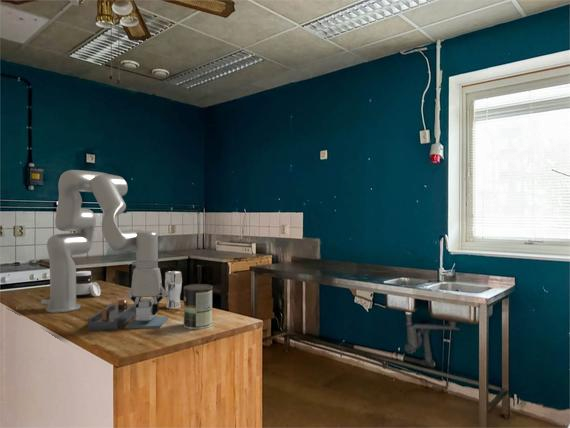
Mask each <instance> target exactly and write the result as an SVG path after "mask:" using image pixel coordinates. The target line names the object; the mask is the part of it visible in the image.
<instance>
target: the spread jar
mask: <svg viewBox="0 0 570 428" xmlns="http://www.w3.org/2000/svg"><path fill="white" fill-rule="evenodd" d="M101 294H102V293H101V287H100V285H99V283H98V282H96V281H95V282H93V277H92V271H91V270H82V271H81V270H80V271H79V270H78V271H76V299H77V298H78V299H81V298H89V297H91V296H93V297H95V298H97V297H100V296H101Z"/></svg>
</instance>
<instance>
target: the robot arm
mask: <svg viewBox="0 0 570 428" xmlns="http://www.w3.org/2000/svg"><path fill="white" fill-rule="evenodd" d="M57 187H58V201H57V207H56V211H55V212H56V213H55V219H54V220H55V221H54V225H55V228H56V229H57V230H59V231H62V232H64V233H57V234H54V235H51V236H50V237H49V238H48V239H47V241H46V249H47V254H48V258H49V291H50V293H49V299H41V302H40V305H41V306H47V307H46V308H45V311H46V312H47V313H50V314H51V313H52V314H53V313H54V314H55V313H56V314H57V313H59V314H60V313H68V312H72V311H76V310H79V309H81V304H80V303H77V298H76V272H77V266H76V263H75V261H74V260H73V258H72V257H73V256H79V255H80V256H81V255H85V254H88V253H89V251H90V250H91V249H92V246H93V242H94V236H95V230H96V223H97V220H96V218H97V217H96V215H95V213H94V211H92V210H91V209H89V208H82V205H83V204H82V203H83V199H82V196H81V193H80V192H85V193H92V194H93V196H94V197H95V199H96V202H97V204H98V205H99V207H100V209H101V211H102V213H103V216H102V218H101V233H102V236H103V237H104V239H105V241H106V242H107V244H108V246H109V248H111V249H112V250H113V251H115V252H128V251H136V252H135V253H136V254H135V255H136V257H135V259H136V260H135V261H132V263H131V265H132V266H135V268H134V269H133V271H132V278H131V286H130V287H131V288H130V289H129V290H128V292H127V293H126V297H128V298H129V299H131V301H132V302H133V304H134V303H135V304H136V308H137V307H138V306H139V301H141V300H142V298H149V297H150V298H151V297H152V299H153V302H154V304H153V315H155V314H156V313H157V314H158V312H159V303H160V302H161V300H162V299H164V298H166V297H167V294H168V293H167V292H166V289H165V287H163V284H162V282H163V281H162V280H163V279H162V274H161V268H160V267H159V260H158V259H159V255H158V254H159V253H158V251H159V249H158V247H159V246H158V245H159V240H158V239H159V237H158V233H157V231H152V230H141V229H128V230H127V229H123V230H121V229H120V228H119V226H118V225H117V222H116V217H118V216H119V215H122V214H123V213H124V212H125V210H126V208H127V204H126V203H125V201H124V199H123V196H125V195H126V194H127V193H128V183H127V181H126V180H125V179H124V178H123V176H119V175H116V174H115V175H114V174H109V173H106V172H100V171H90V170H80V169H69V170H66V171H64V172H63V173H61V174H60V177H59V180H58V186H57ZM75 231H76V232H75ZM160 294H161V295H160ZM159 295H160V296H159ZM157 314H156V315H157ZM156 315H155V316H156Z"/></svg>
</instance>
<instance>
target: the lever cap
mask: <svg viewBox="0 0 570 428" xmlns="http://www.w3.org/2000/svg"><path fill="white" fill-rule="evenodd" d="M153 304H154V301H153V298H141V300H140V301H139V306H138V307H137V308H136V315H135V318H136V321H137V320H151V319H152V318H153V317H156V316H157V315H158V312H157V313H156V314H155V315H153Z"/></svg>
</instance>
